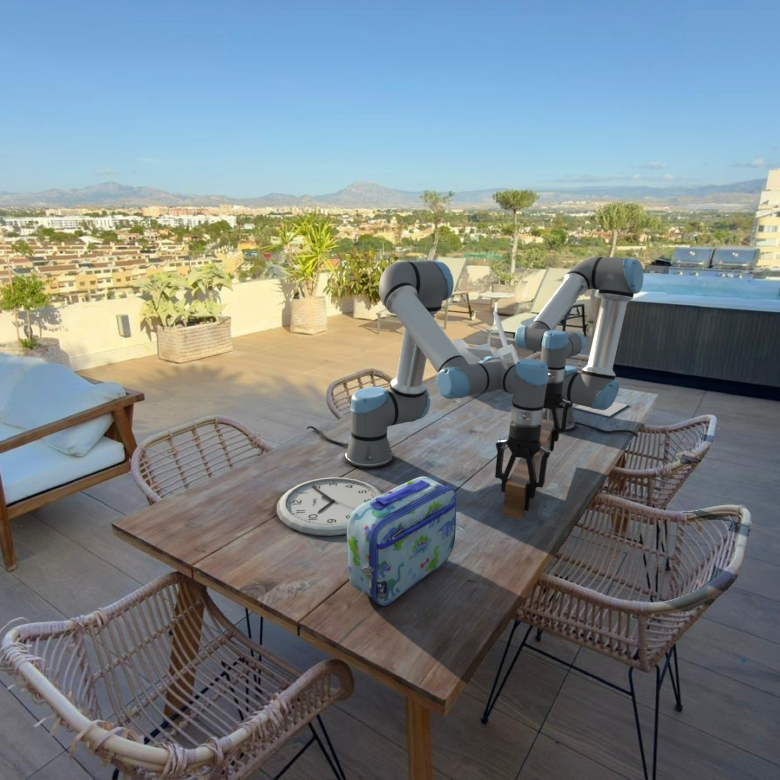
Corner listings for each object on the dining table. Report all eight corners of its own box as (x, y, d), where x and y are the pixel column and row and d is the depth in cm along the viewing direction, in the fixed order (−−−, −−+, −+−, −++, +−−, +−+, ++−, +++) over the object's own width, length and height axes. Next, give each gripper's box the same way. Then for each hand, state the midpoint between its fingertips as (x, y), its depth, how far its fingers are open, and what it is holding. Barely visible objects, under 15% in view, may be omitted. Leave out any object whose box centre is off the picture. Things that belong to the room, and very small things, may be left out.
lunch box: (376, 619, 101) (377, 524, 95) (340, 592, 109) (339, 502, 102) (459, 562, 119) (465, 479, 113) (424, 542, 126) (427, 463, 120)
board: (538, 443, 177) (541, 418, 174) (553, 445, 175) (556, 421, 172) (503, 514, 132) (505, 483, 130) (521, 519, 131) (524, 487, 128)
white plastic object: (461, 429, 252) (437, 405, 227) (444, 352, 274) (420, 323, 250) (535, 404, 240) (518, 377, 215) (510, 326, 262) (492, 293, 237)
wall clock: (392, 527, 129) (268, 531, 127) (391, 533, 130) (269, 537, 127) (383, 473, 158) (282, 475, 155) (383, 478, 158) (282, 480, 156)
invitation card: (608, 416, 214) (573, 407, 224) (608, 416, 214) (573, 408, 224) (628, 404, 229) (594, 396, 238) (628, 405, 229) (594, 397, 238)
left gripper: (486, 420, 129) (479, 504, 136) (561, 434, 122) (549, 521, 129) (494, 411, 135) (486, 491, 142) (565, 423, 128) (553, 507, 135)
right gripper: (520, 379, 164) (514, 447, 171) (579, 387, 157) (570, 457, 164) (524, 373, 171) (518, 439, 178) (581, 380, 164) (573, 448, 171)
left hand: (516, 505), depth 136 cm, fingers closed on board, 5 cm apart
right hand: (543, 448), depth 171 cm, fingers closed on board, 5 cm apart
